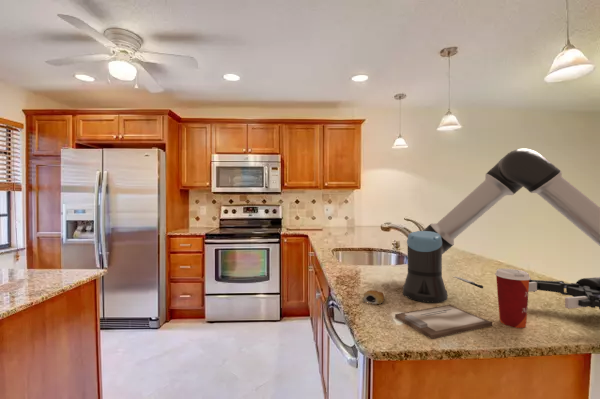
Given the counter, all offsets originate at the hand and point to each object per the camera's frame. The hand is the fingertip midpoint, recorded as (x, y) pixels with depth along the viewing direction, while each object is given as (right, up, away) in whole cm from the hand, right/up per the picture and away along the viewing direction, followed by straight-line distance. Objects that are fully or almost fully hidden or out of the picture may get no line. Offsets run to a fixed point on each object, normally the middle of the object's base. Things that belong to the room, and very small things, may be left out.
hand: (540, 294), depth 81 cm
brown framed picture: (-29, -8, 0) cm, 30 cm away
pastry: (-45, -8, +17) cm, 48 cm away
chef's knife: (+3, -8, +40) cm, 41 cm away
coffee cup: (-10, -8, -2) cm, 12 cm away
